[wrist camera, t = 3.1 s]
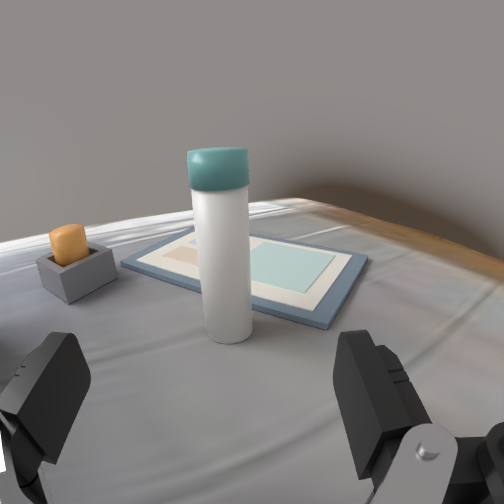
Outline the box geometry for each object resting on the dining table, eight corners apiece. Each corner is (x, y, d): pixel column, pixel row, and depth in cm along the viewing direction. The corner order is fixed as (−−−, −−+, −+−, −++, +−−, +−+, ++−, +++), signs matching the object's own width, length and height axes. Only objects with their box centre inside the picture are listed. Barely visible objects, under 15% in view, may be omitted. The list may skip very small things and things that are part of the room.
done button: (53, 271, 27) (43, 233, 26) (80, 258, 30) (73, 222, 29) (68, 280, 26) (58, 239, 24) (98, 265, 29) (90, 226, 27)
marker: (195, 334, 21) (174, 153, 17) (223, 311, 24) (211, 146, 19) (236, 351, 20) (224, 152, 15) (262, 323, 22) (259, 147, 18)
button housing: (43, 286, 28) (35, 260, 27) (87, 264, 32) (81, 239, 31) (68, 304, 25) (59, 273, 24) (117, 277, 30) (111, 249, 28)
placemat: (121, 265, 32) (119, 259, 32) (198, 228, 42) (197, 223, 42) (326, 330, 21) (327, 321, 21) (367, 259, 32) (368, 253, 31)
